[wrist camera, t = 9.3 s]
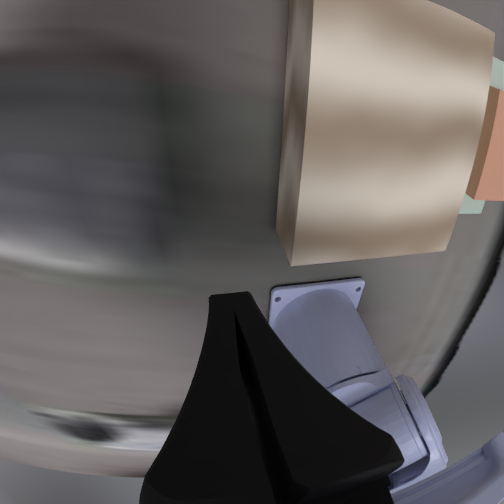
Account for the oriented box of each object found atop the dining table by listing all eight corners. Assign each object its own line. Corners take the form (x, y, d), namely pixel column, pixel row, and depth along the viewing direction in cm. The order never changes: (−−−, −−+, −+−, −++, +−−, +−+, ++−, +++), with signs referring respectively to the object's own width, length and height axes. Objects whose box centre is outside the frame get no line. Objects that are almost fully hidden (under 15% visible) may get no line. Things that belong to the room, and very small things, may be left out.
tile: (473, 200, 20) (458, 188, 22) (512, 201, 21) (498, 190, 23) (500, 89, 15) (481, 82, 17) (537, 106, 16) (520, 99, 18)
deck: (417, 222, 24) (445, 250, 21) (275, 229, 22) (290, 266, 19) (454, 27, 15) (494, 32, 11) (289, -18, 13) (314, -32, 10)
